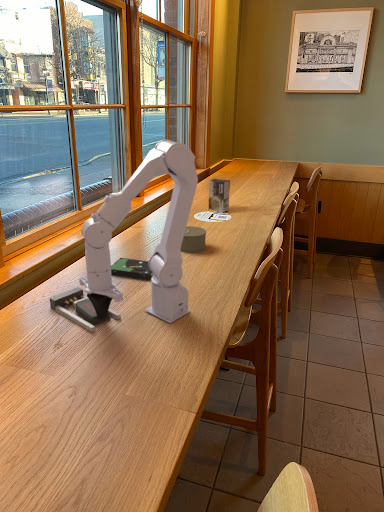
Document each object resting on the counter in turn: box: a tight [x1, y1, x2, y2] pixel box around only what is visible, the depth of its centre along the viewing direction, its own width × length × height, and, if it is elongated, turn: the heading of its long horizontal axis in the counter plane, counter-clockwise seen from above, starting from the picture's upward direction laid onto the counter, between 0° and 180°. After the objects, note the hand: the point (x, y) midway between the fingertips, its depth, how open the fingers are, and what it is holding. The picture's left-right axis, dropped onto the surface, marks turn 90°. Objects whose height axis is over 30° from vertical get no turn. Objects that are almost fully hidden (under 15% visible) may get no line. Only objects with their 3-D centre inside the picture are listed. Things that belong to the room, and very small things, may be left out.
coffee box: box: [208, 178, 231, 213], centre depth 200 cm, size 9×6×16 cm
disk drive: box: [111, 257, 153, 281], centre depth 128 cm, size 10×3×15 cm
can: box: [181, 226, 207, 254], centre depth 149 cm, size 12×12×7 cm
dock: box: [48, 286, 122, 333], centre depth 102 cm, size 18×9×3 cm, turn 50°
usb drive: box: [72, 298, 111, 326], centre depth 102 cm, size 5×12×3 cm, turn 42°
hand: (102, 317), depth 98 cm, fingers closed
